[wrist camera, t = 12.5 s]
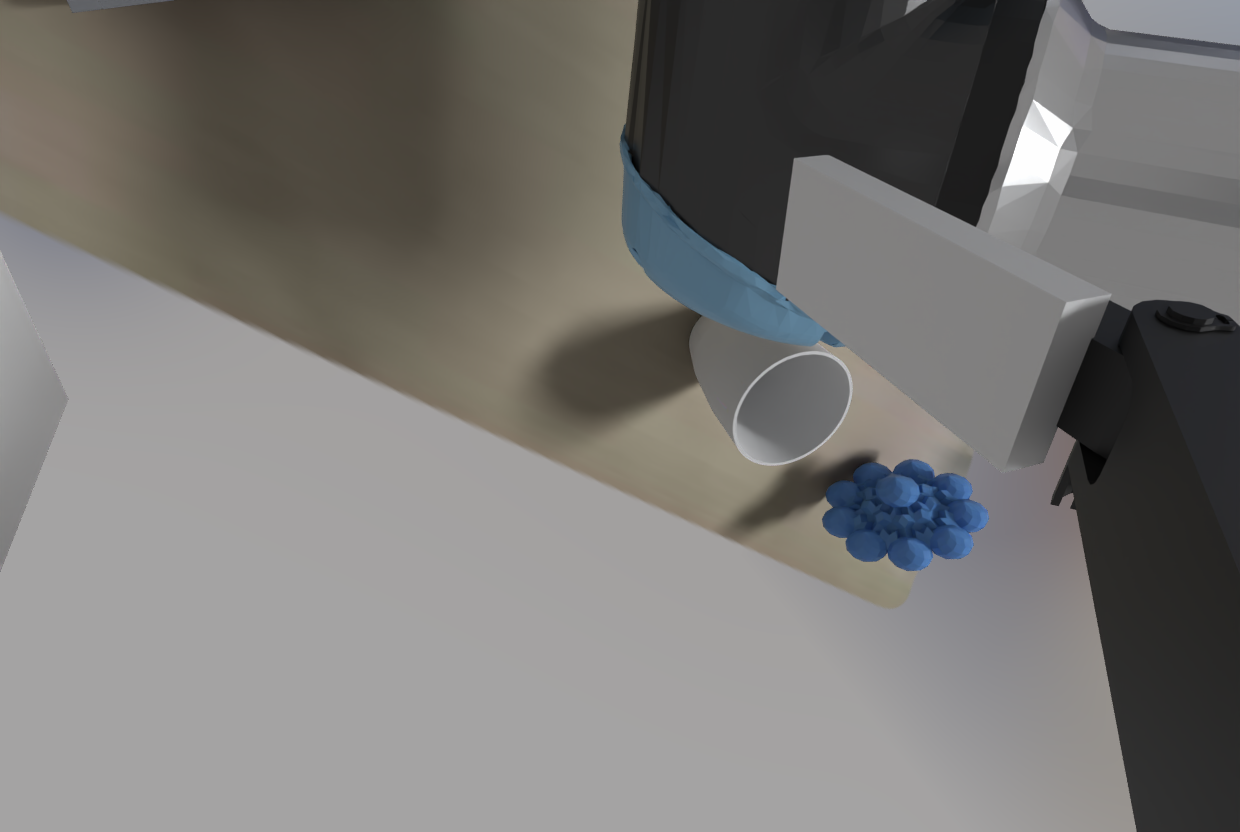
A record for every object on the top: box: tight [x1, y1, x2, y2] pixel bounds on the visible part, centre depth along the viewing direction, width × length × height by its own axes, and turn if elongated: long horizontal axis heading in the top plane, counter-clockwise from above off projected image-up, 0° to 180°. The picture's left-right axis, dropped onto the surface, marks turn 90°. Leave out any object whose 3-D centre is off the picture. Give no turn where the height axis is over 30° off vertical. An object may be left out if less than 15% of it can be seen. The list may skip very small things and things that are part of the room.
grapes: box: [822, 459, 989, 571], centre depth 62 cm, size 12×7×12 cm, turn 110°
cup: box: [689, 315, 852, 466], centre depth 51 cm, size 8×8×10 cm
